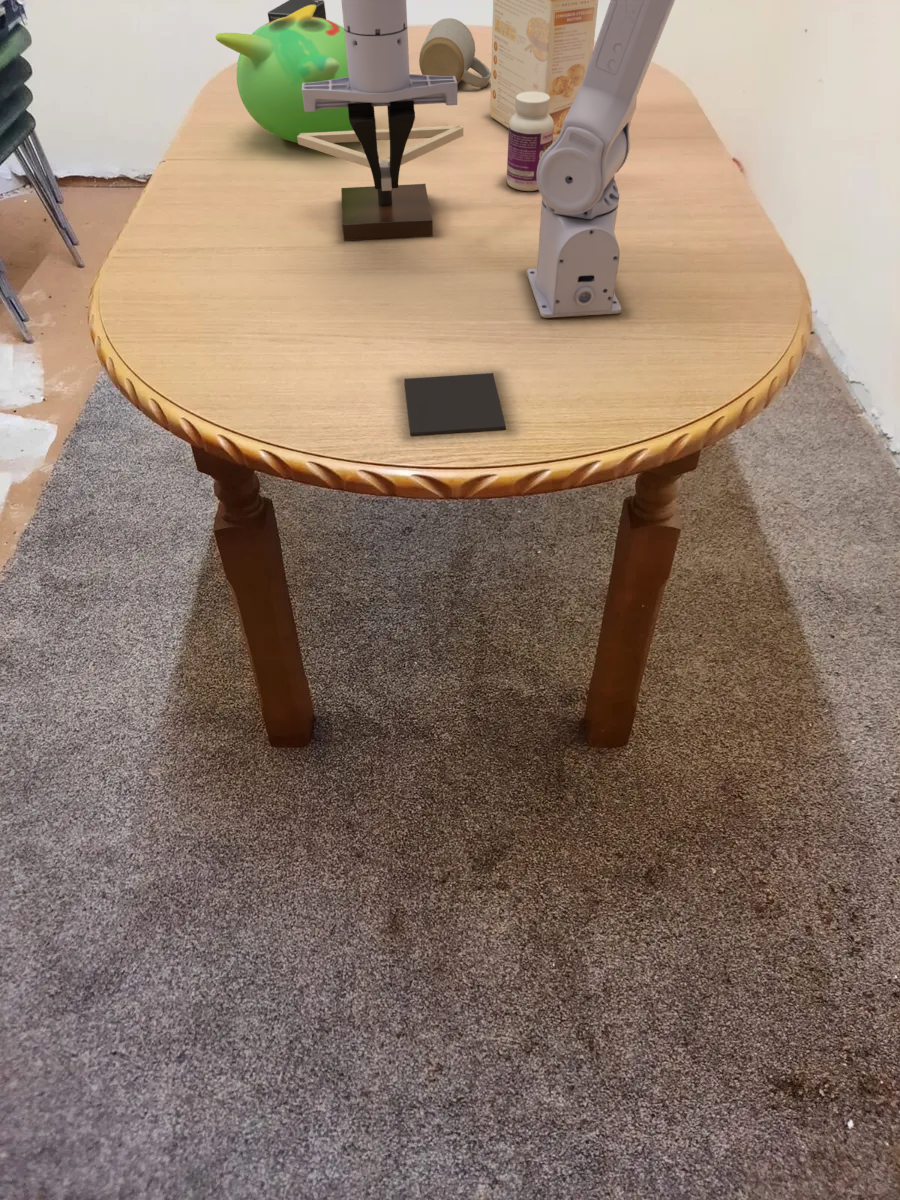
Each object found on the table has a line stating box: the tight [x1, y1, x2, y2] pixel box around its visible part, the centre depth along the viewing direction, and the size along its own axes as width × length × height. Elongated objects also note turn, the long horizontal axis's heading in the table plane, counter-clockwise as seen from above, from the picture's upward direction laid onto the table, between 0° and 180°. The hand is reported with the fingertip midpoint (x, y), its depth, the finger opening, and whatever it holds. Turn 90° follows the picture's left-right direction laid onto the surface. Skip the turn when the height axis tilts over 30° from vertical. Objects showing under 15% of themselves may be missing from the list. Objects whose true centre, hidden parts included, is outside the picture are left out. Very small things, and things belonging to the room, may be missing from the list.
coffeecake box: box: [489, 0, 599, 144], centre depth 107 cm, size 15×7×20 cm, turn 25°
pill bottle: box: [506, 92, 554, 192], centre depth 99 cm, size 5×5×10 cm
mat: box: [404, 372, 507, 436], centre depth 71 cm, size 8×8×1 cm
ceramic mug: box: [418, 17, 491, 89], centre depth 125 cm, size 11×8×8 cm
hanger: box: [297, 124, 464, 191], centre depth 88 cm, size 19×15×1 cm
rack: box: [340, 183, 434, 242], centre depth 94 cm, size 10×10×5 cm
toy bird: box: [215, 5, 354, 144], centre depth 107 cm, size 18×17×15 cm
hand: (386, 184), depth 84 cm, fingers closed on hanger, 1 cm apart
